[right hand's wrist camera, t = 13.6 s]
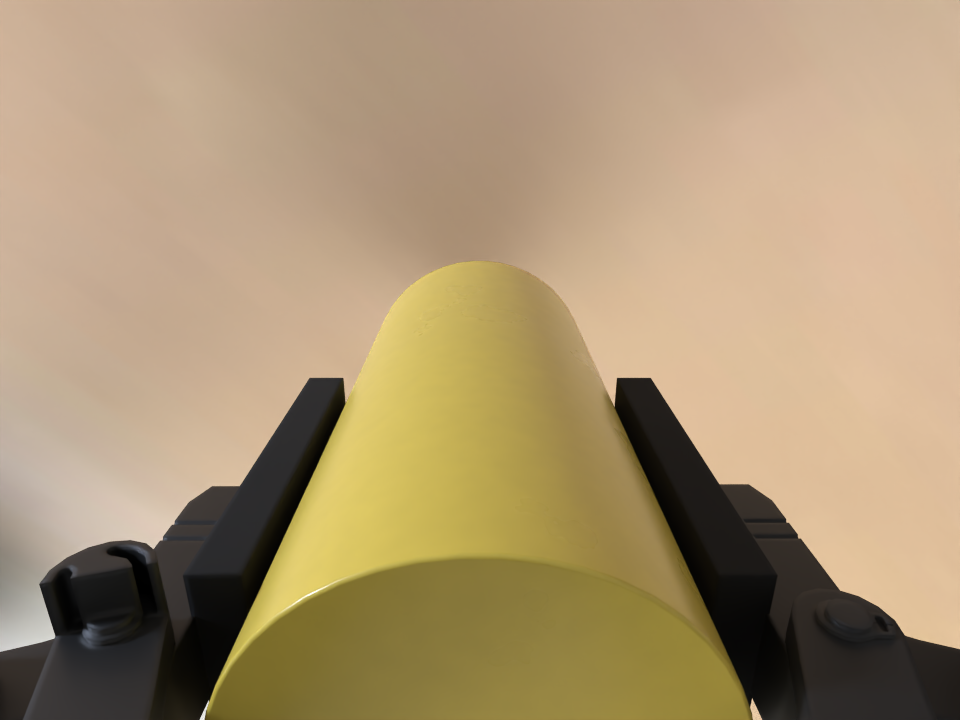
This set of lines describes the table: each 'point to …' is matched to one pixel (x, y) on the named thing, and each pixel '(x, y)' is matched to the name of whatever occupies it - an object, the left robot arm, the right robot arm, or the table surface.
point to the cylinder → (478, 539)
